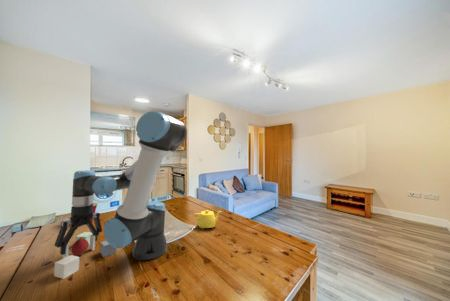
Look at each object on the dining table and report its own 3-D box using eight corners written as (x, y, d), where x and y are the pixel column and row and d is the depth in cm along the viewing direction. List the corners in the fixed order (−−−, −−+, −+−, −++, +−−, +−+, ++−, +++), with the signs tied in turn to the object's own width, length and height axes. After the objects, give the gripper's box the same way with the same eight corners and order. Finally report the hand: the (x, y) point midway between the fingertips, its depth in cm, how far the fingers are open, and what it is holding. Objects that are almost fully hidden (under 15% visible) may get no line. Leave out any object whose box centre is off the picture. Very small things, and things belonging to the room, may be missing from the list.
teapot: (220, 223, 115) (221, 207, 115) (221, 230, 104) (222, 213, 104) (194, 223, 113) (195, 207, 114) (193, 230, 102) (193, 213, 103)
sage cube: (93, 242, 86) (93, 232, 86) (85, 247, 81) (85, 236, 81) (83, 241, 86) (84, 232, 86) (75, 246, 81) (75, 236, 81)
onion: (77, 260, 71) (79, 241, 71) (67, 258, 72) (68, 239, 72) (91, 252, 76) (92, 235, 77) (81, 250, 78) (82, 233, 78)
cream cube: (78, 270, 65) (79, 257, 65) (63, 279, 60) (64, 265, 60) (69, 267, 66) (70, 254, 66) (53, 276, 61) (54, 262, 61)
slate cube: (116, 252, 77) (116, 241, 77) (103, 257, 73) (103, 246, 73) (112, 248, 80) (113, 238, 80) (100, 253, 76) (100, 242, 77)
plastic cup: (86, 219, 115) (88, 201, 116) (100, 220, 114) (102, 202, 115) (70, 225, 105) (72, 206, 105) (86, 226, 103) (87, 207, 104)
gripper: (103, 198, 87) (101, 241, 86) (45, 209, 67) (40, 266, 66) (112, 200, 83) (110, 245, 83) (53, 213, 64) (49, 272, 63)
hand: (79, 254), depth 74 cm, fingers open, 9 cm apart
